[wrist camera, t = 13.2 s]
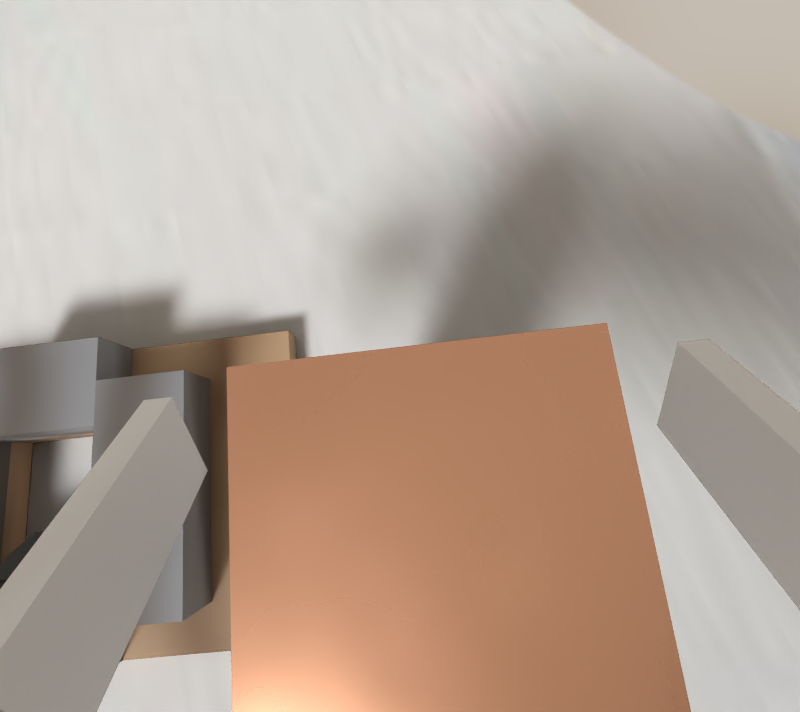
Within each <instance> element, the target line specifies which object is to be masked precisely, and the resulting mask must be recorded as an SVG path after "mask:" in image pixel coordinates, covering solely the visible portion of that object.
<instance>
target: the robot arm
mask: <svg viewBox="0 0 800 712" xmlns="http://www.w3.org/2000/svg"><path fill="white" fill-rule="evenodd" d="M657 426H658V427H659V429H660V430H661V431H662V432H663V434H664V435H665V436H666V438H667V439H668V440H669V441H670V443H671V444H672V445H673V447H674V448H675V449H676V451H677V452H678V453H679V454H680V456H681V457H682V458H683V460H684V461H685V462H686V463H687V465H688V466H689V467H690V469H691V470H692V471H693V473H694V474H695V475H696V476H697V478H698V479H699V480H700V482H701V483H702V484H703V486H704V487H705V488H706V489H707V491H708V492H709V493H710V495H711V496H712V497H713V498H714V500H715V501H716V502H717V504H718V505H719V506H720V508H721V509H722V510H723V511H724V513H725V514H726V515H727V517H728V518H729V519H730V521H731V522H732V523H733V524H734V526H735V527H736V528H737V530H738V531H739V532H740V533H741V535H742V536H743V537H744V539H745V540H746V541H747V543H748V544H749V545H750V546H751V548H752V549H753V550H754V552H755V553H756V554H757V555H758V557H759V558H760V559H761V561H762V562H763V563H764V565H765V566H766V567H767V568H768V570H769V571H770V572H771V574H772V575H773V576H774V578H775V579H776V580H777V581H778V583H779V584H780V585H781V587H782V588H783V589H784V590H785V592H786V593H787V594H788V596H789V597H790V598H791V600H792V601H793V602H794V603H795V605H796V606H797V607H798V609H799V610H800V413H799V412H798V411H797V410H795V409H794V408H793V407H792V406H791V405H789V404H788V403H787V402H786V401H784V400H783V399H782V398H781V397H780V396H778V395H777V394H776V393H775V392H773V391H772V390H771V389H770V388H768V387H767V386H766V385H765V384H764V383H762V382H761V381H760V380H759V379H757V378H756V377H755V376H754V375H753V374H751V373H750V372H749V371H748V370H746V369H745V368H744V367H743V366H742V365H740V364H739V363H738V362H737V361H735V360H734V359H733V358H732V357H730V356H729V355H728V354H727V353H726V352H724V351H723V350H722V349H721V348H719V347H718V346H717V345H716V344H715V343H713V342H712V341H711V340H710V339H705V340H696V341H687V342H678V345H677V349H676V352H675V356H674V360H673V364H672V368H671V372H670V376H669V380H668V384H667V388H666V392H665V396H664V400H663V404H662V408H661V412H660V416H659V420H658V424H657ZM207 471H208V470H207V468H206V466H205V464H204V462H203V460H202V458H201V456H200V454H199V452H198V450H197V448H196V445H195V443H194V441H193V439H192V437H191V435H190V433H189V431H188V429H187V427H186V425H185V423H184V421H183V419H182V417H181V415H180V413H179V411H178V409H177V407H176V404H175V402H174V400H173V398H172V397H168V398H158V399H149V400H144V401H143V402H142V403H141V404H140V406H139V407H138V408H137V410H136V411H135V412H134V414H133V415H132V416H131V418H130V419H129V420H128V422H127V423H126V424H125V426H124V427H123V428H122V429H121V431H120V432H119V433H118V435H117V436H116V437H115V439H114V440H113V441H112V443H111V444H110V445H109V447H108V448H107V449H106V451H105V452H104V453H103V455H102V456H101V457H100V458H99V460H98V461H97V462H96V464H95V465H94V466H93V468H92V469H91V470H90V472H89V473H88V474H87V476H86V477H85V478H84V480H83V481H82V482H81V483H80V485H79V486H78V487H77V489H76V490H75V491H74V493H73V494H72V495H71V497H70V498H69V499H68V501H67V502H66V503H65V505H64V506H63V507H62V508H61V510H60V511H59V512H58V514H57V515H56V516H55V518H54V519H53V520H52V522H51V523H50V524H49V526H48V527H47V528H46V530H45V531H43V532H35V533H34V534H33V535H31V536H30V537H29V538H28V539H27V540H26V541H24V542H23V543H22V544H21V545H20V546H19V547H17V548H16V549H15V550H14V551H13V552H12V553H10V554H9V555H8V556H7V557H6V559H5V560H4V561H3V562H2V564H1V565H0V712H97V710H98V708H99V705H100V703H101V701H102V699H103V697H104V695H105V692H106V690H107V688H108V686H109V684H110V681H111V679H112V677H113V675H114V673H115V671H116V668H117V666H118V664H119V662H120V660H121V658H122V655H123V653H124V651H125V649H126V647H127V645H128V642H129V640H130V638H131V636H132V634H133V632H134V629H135V627H136V625H137V623H138V621H139V619H140V616H141V614H142V612H143V610H144V608H145V606H146V603H147V601H148V599H149V597H150V595H151V592H152V590H153V588H154V586H155V584H156V582H157V579H158V577H159V575H160V573H161V571H162V569H163V566H164V564H165V562H166V560H167V558H168V556H169V553H170V551H171V549H172V547H173V545H174V543H175V540H176V538H177V536H178V534H179V532H180V530H181V527H182V525H183V523H184V521H185V519H186V517H187V514H188V512H189V510H190V508H191V506H192V503H193V501H194V499H195V497H196V495H197V493H198V490H199V488H200V486H201V484H202V482H203V480H204V477H205V475H206V473H207Z"/></svg>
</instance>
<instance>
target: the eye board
mask: <svg viewBox="0 0 800 712" xmlns="http://www.w3.org/2000/svg"><path fill="white" fill-rule="evenodd" d="M293 359H296V341H295V336H294V335H293V334H291V333H290V332H289V331H281V332H273V333H264V334H256V335H248V336H239V337H231V338H223V339H214V340H206V341H197V342H189V343H181V344H172V345H164V346H155V347H147V348H139V349H131V348H128V347H125V346H122V345H119V344H116V343H114V342H111V341H108V340H105V339H102V338H100V337H94V338H85V339H77V340H69V341H60V342H52V343H44V344H36V345H27V346H19V347H11V348H3V349H0V565H1V564H2V562H3V561H4V560H5V559H6V557H7V556H8V555H9V554H10V553H12V552H13V551H14V550H15V549H16V548H17V547H19V546H20V545H21V544H22V543H23V542H24V541H25V536H26V524H27V511H28V499H29V486H30V474H31V461H32V449H33V443H36V442H45V441H53V440H62V439H71V438H80V437H89V436H93V447H92V467H91V469H92V468H93V466H94V465H95V464H96V462H97V461H98V460H99V458H100V457H101V456H102V455H103V453H104V452H105V451H106V449H107V448H108V447H109V445H110V444H111V443H112V441H113V440H114V439H115V437H116V436H117V435H118V433H119V432H120V431H121V429H122V428H123V427H124V426H125V424H126V423H127V422H128V420H129V419H130V418H131V416H132V415H133V414H134V412H135V411H136V410H137V408H138V407H139V406H140V404H141V403H142V402H143V401H144V400H149V399H158V398H168V397H172V398H173V400H174V402H175V404H176V407H177V409H178V411H179V413H180V415H181V417H182V419H183V421H184V423H185V425H186V427H187V429H188V431H189V433H190V435H191V437H192V439H193V441H194V443H195V445H196V448H197V450H198V452H199V454H200V456H201V458H202V460H203V462H204V464H205V466H206V468H207V470H208V471H207V473H206V475H205V477H204V480H203V482H202V484H201V486H200V488H199V490H198V493H197V495H196V497H195V499H194V501H193V503H192V506H191V508H190V510H189V512H188V514H187V517H186V519H185V521H184V523H183V525H182V527H181V530H180V532H179V534H178V536H177V538H176V540H175V543H174V545H173V547H172V549H171V551H170V553H169V556H168V558H167V560H166V562H165V564H164V566H163V569H162V571H161V573H160V575H159V577H158V579H157V582H156V584H155V586H154V588H153V590H152V592H151V595H150V597H149V599H148V601H147V603H146V606H145V608H144V610H143V612H142V614H141V616H140V619H139V621H138V623H137V625H136V627H135V629H134V632H133V634H132V636H131V638H130V640H129V642H128V645H127V647H126V649H125V651H124V653H123V655H122V658H121V660H120V662H121V661H122V660H131V659H142V658H153V657H164V656H176V655H187V654H198V653H209V652H220V651H231V605H230V545H229V485H228V425H227V367H233V366H241V365H250V364H259V363H267V362H276V361H284V360H293Z"/></svg>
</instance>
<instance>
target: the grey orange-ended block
mask: <svg viewBox="0 0 800 712" xmlns="http://www.w3.org/2000/svg"><path fill="white" fill-rule="evenodd" d="M227 425H228V485H229V545H230V605H231V665H232V712H691V710H690V705H689V700H688V696H687V691H686V687H685V682H684V677H683V673H682V668H681V663H680V659H679V654H678V650H677V645H676V640H675V636H674V631H673V627H672V622H671V617H670V613H669V608H668V603H667V599H666V594H665V590H664V585H663V580H662V576H661V571H660V566H659V562H658V557H657V553H656V548H655V543H654V539H653V534H652V530H651V525H650V520H649V516H648V511H647V506H646V502H645V497H644V493H643V488H642V483H641V479H640V474H639V470H638V465H637V460H636V456H635V451H634V446H633V442H632V437H631V433H630V428H629V423H628V419H627V414H626V409H625V405H624V400H623V396H622V391H621V386H620V382H619V377H618V373H617V368H616V363H615V359H614V354H613V349H612V345H611V340H610V336H609V331H608V326H607V323H602V324H593V325H585V326H576V327H567V328H559V329H550V330H542V331H533V332H524V333H516V334H507V335H499V336H490V337H482V338H473V339H464V340H456V341H447V342H439V343H430V344H422V345H413V346H404V347H396V348H387V349H379V350H370V351H361V352H353V353H344V354H336V355H327V356H319V357H310V358H301V359H293V360H284V361H276V362H267V363H259V364H250V365H241V366H233V367H227Z"/></svg>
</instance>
